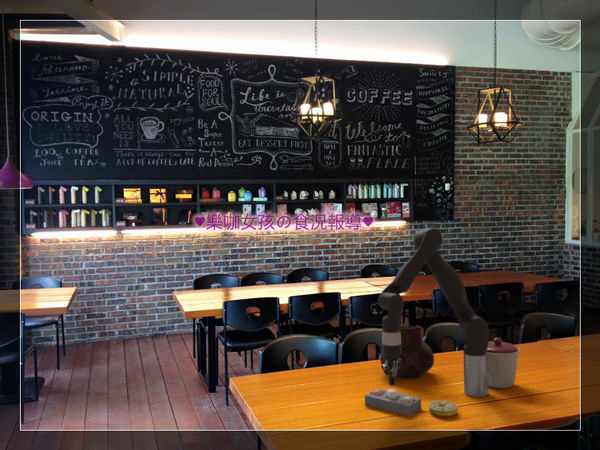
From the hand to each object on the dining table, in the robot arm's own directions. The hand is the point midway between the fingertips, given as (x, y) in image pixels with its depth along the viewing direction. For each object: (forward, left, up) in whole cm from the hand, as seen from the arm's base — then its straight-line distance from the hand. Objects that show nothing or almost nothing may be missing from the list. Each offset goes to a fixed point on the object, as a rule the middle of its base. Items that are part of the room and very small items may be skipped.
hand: (392, 384), depth 211 cm
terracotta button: (+7, 0, -8) cm, 11 cm away
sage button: (-7, 0, -8) cm, 11 cm away
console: (0, 0, -9) cm, 9 cm away
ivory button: (0, 0, -7) cm, 7 cm away
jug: (+14, -38, -9) cm, 42 cm away
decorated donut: (-19, -6, -9) cm, 22 cm away
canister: (-25, -49, -9) cm, 56 cm away
